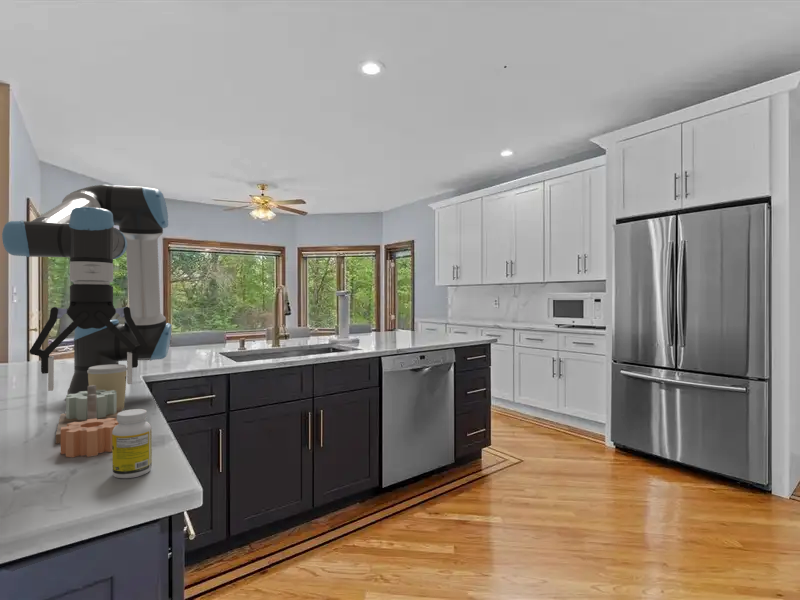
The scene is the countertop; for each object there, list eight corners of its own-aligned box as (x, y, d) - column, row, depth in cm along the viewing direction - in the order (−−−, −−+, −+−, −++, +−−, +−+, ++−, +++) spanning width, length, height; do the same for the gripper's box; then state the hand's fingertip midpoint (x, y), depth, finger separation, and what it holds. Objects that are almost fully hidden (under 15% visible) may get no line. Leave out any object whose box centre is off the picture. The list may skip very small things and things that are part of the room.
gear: (58, 415, 117) (58, 394, 117) (104, 406, 126) (104, 388, 126) (77, 422, 111) (77, 400, 111) (124, 412, 120) (124, 393, 120)
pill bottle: (122, 466, 89) (122, 407, 89) (157, 466, 89) (157, 407, 89) (105, 480, 83) (105, 416, 82) (142, 479, 83) (142, 416, 83)
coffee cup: (135, 408, 133) (135, 365, 133) (104, 416, 124) (104, 370, 124) (110, 405, 136) (110, 363, 136) (78, 413, 127) (78, 368, 127)
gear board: (60, 422, 118) (60, 385, 118) (121, 415, 125) (121, 381, 125) (55, 443, 102) (55, 401, 101) (125, 434, 109) (126, 395, 109)
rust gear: (62, 445, 100) (62, 422, 100) (120, 437, 106) (120, 415, 106) (59, 461, 92) (59, 435, 91) (123, 451, 97) (123, 427, 97)
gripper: (11, 281, 88) (11, 396, 88) (161, 284, 102) (161, 383, 102) (17, 282, 95) (16, 389, 95) (157, 285, 108) (157, 378, 108)
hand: (91, 386), depth 98 cm, fingers open, 13 cm apart
